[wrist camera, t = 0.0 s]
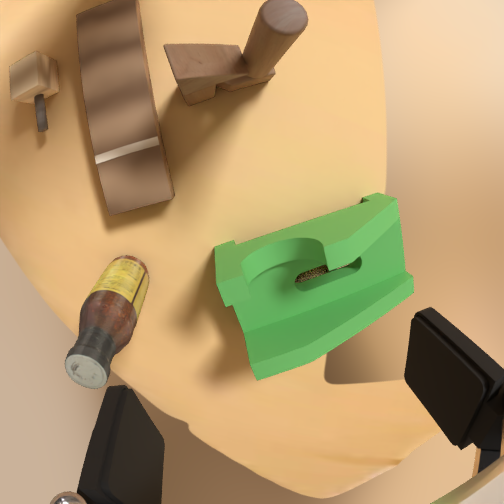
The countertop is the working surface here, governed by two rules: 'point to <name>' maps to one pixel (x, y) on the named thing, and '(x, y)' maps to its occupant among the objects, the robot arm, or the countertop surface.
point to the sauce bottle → (107, 321)
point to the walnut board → (121, 107)
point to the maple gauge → (34, 83)
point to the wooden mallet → (238, 54)
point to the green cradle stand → (314, 283)
